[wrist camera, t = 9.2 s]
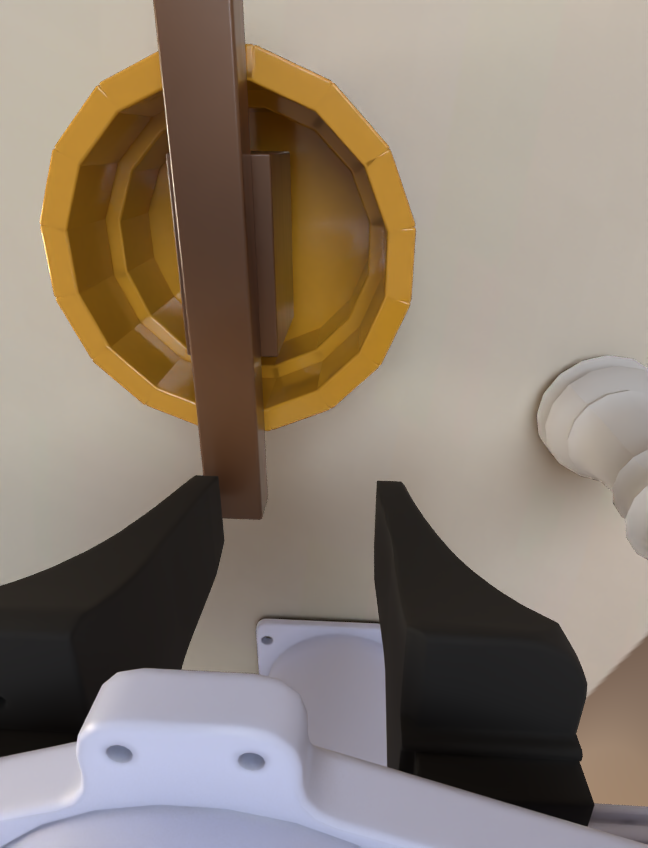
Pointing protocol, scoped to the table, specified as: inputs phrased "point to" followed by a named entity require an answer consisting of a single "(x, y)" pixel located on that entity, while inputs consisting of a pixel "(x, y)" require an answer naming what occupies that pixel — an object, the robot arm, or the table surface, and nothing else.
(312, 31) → the table surface
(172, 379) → the bowl
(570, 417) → the rook chess piece
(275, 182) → the tall wooden post
